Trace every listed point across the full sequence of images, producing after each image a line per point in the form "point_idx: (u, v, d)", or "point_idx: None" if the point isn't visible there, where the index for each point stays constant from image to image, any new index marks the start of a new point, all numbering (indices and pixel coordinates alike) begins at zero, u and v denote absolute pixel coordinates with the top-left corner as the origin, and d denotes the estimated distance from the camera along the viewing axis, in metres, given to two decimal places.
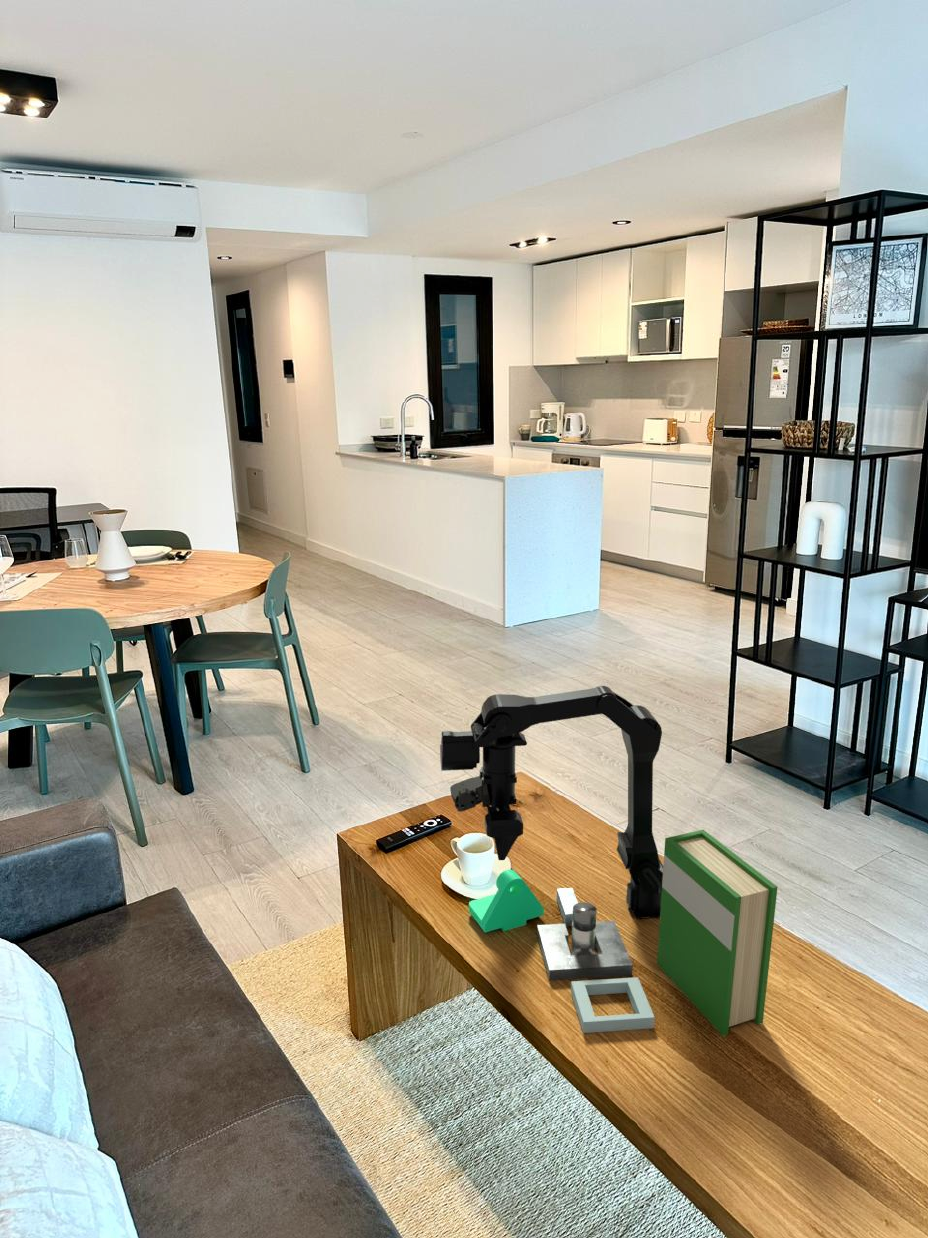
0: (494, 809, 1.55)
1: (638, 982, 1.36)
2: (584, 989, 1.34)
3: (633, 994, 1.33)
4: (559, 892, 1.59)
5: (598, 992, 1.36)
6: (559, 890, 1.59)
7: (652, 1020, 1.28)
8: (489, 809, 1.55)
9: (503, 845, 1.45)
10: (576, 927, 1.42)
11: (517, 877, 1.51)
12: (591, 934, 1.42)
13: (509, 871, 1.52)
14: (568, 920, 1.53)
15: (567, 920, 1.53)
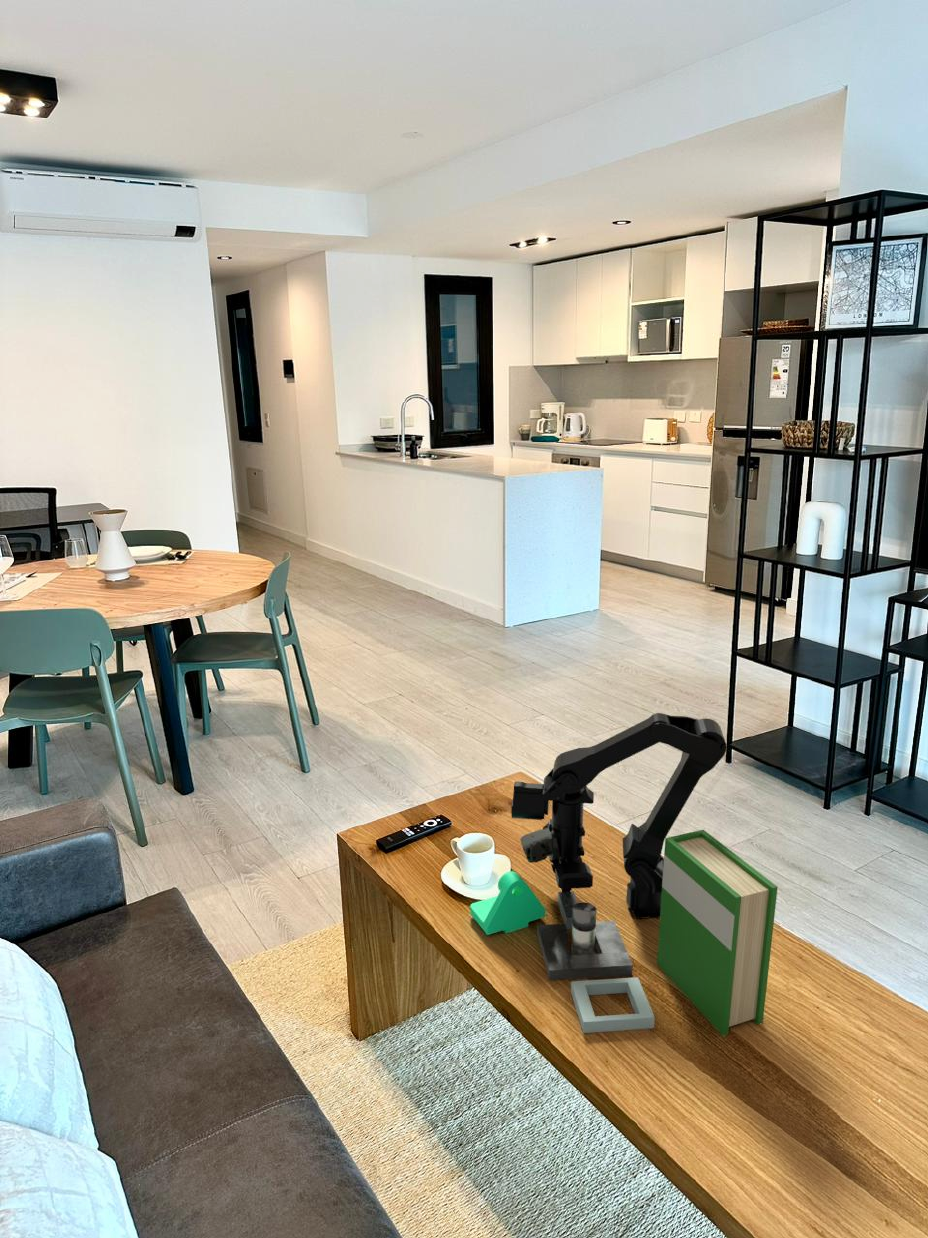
0: None
1: (638, 982, 1.36)
2: (584, 989, 1.34)
3: (633, 994, 1.33)
4: (560, 895, 1.58)
5: (598, 992, 1.36)
6: (560, 893, 1.58)
7: (652, 1020, 1.28)
8: None
9: None
10: (576, 927, 1.42)
11: (519, 879, 1.50)
12: (591, 934, 1.42)
13: (511, 873, 1.52)
14: (570, 924, 1.52)
15: (568, 923, 1.52)
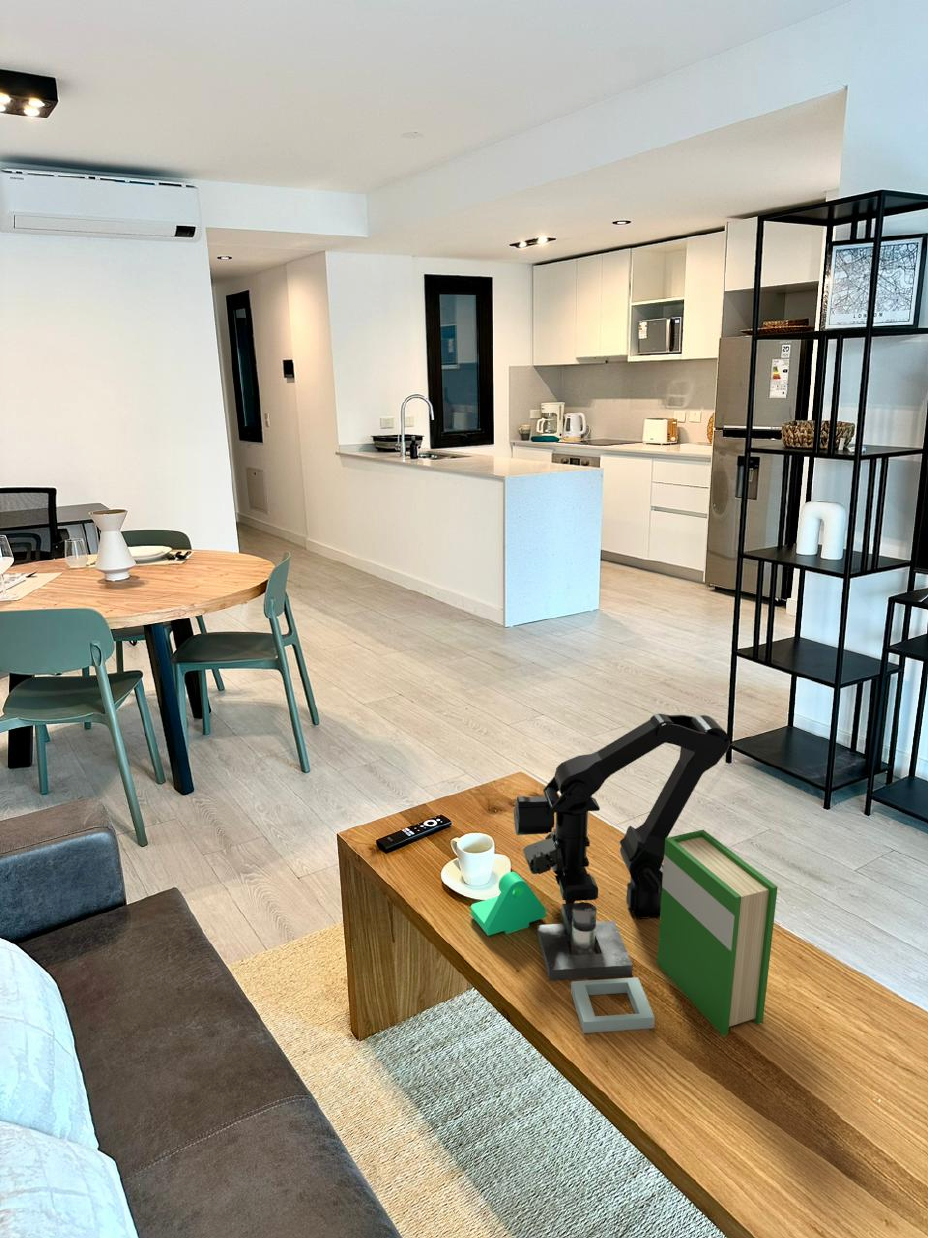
0: None
1: (638, 982, 1.36)
2: (584, 989, 1.34)
3: (633, 994, 1.33)
4: (564, 907, 1.54)
5: (598, 992, 1.36)
6: (564, 905, 1.55)
7: (652, 1020, 1.28)
8: None
9: None
10: (576, 927, 1.42)
11: (519, 879, 1.50)
12: (591, 934, 1.42)
13: (512, 873, 1.52)
14: None
15: None
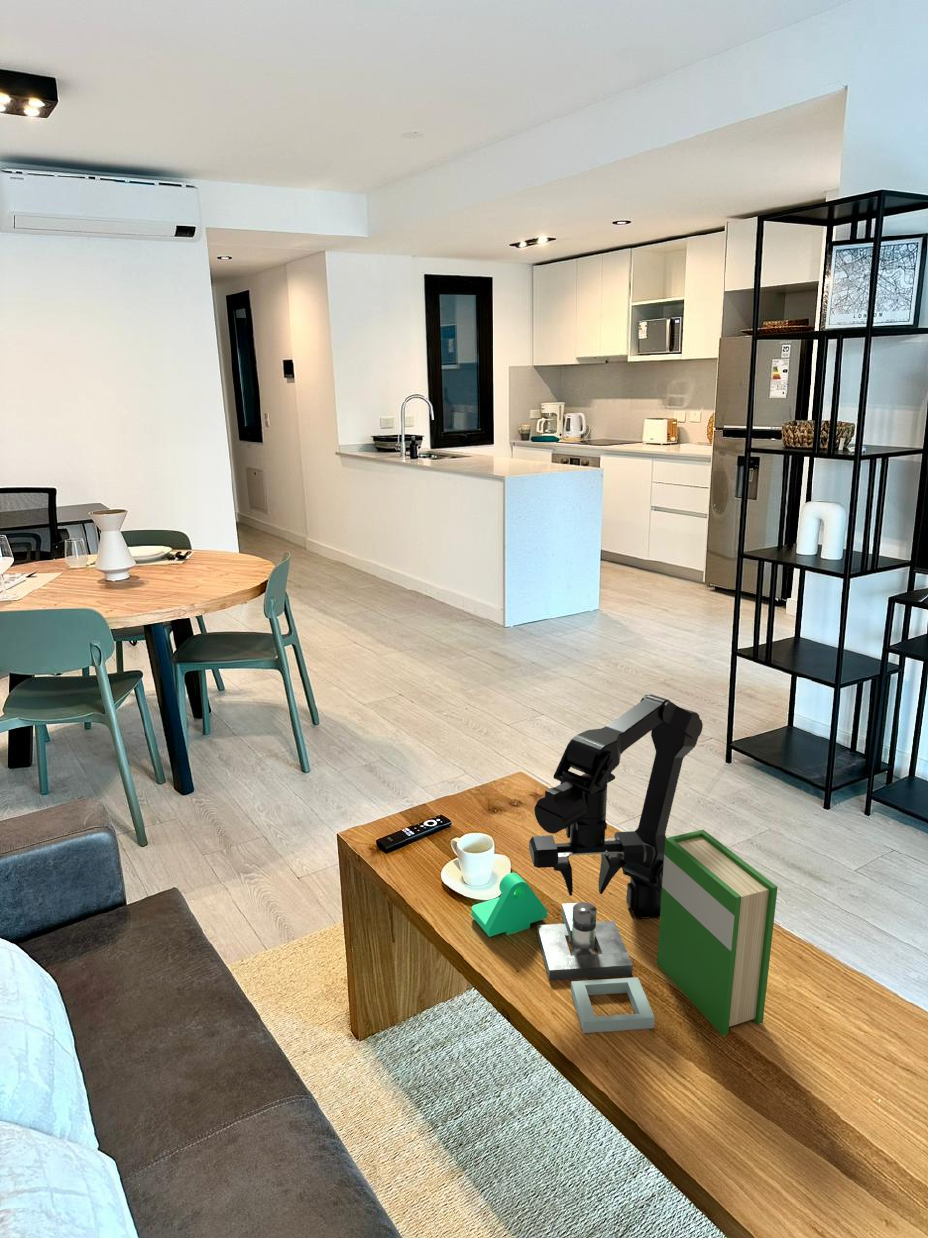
0: (602, 867, 1.41)
1: (638, 982, 1.36)
2: (584, 989, 1.34)
3: (633, 994, 1.33)
4: (564, 907, 1.54)
5: (598, 992, 1.36)
6: (564, 905, 1.55)
7: (652, 1020, 1.28)
8: (601, 864, 1.42)
9: None
10: (576, 927, 1.42)
11: (520, 880, 1.50)
12: (591, 934, 1.42)
13: (512, 874, 1.51)
14: None
15: None
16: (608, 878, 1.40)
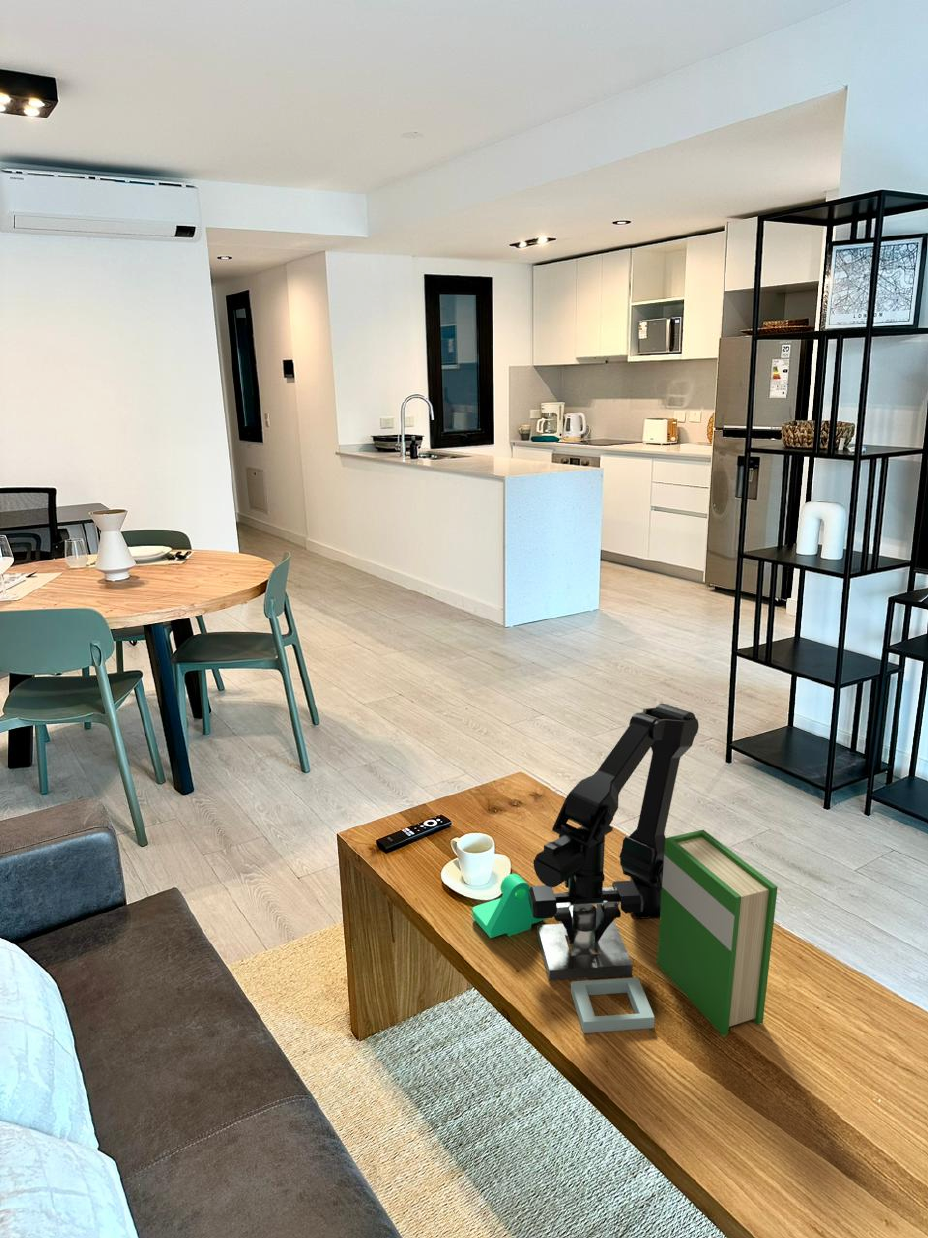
0: (598, 916, 1.44)
1: (638, 982, 1.36)
2: (584, 989, 1.34)
3: (633, 994, 1.33)
4: None
5: (598, 992, 1.36)
6: None
7: (652, 1020, 1.28)
8: (596, 913, 1.45)
9: None
10: (576, 927, 1.42)
11: (522, 881, 1.49)
12: (591, 934, 1.42)
13: (513, 875, 1.51)
14: None
15: None
16: (603, 928, 1.42)
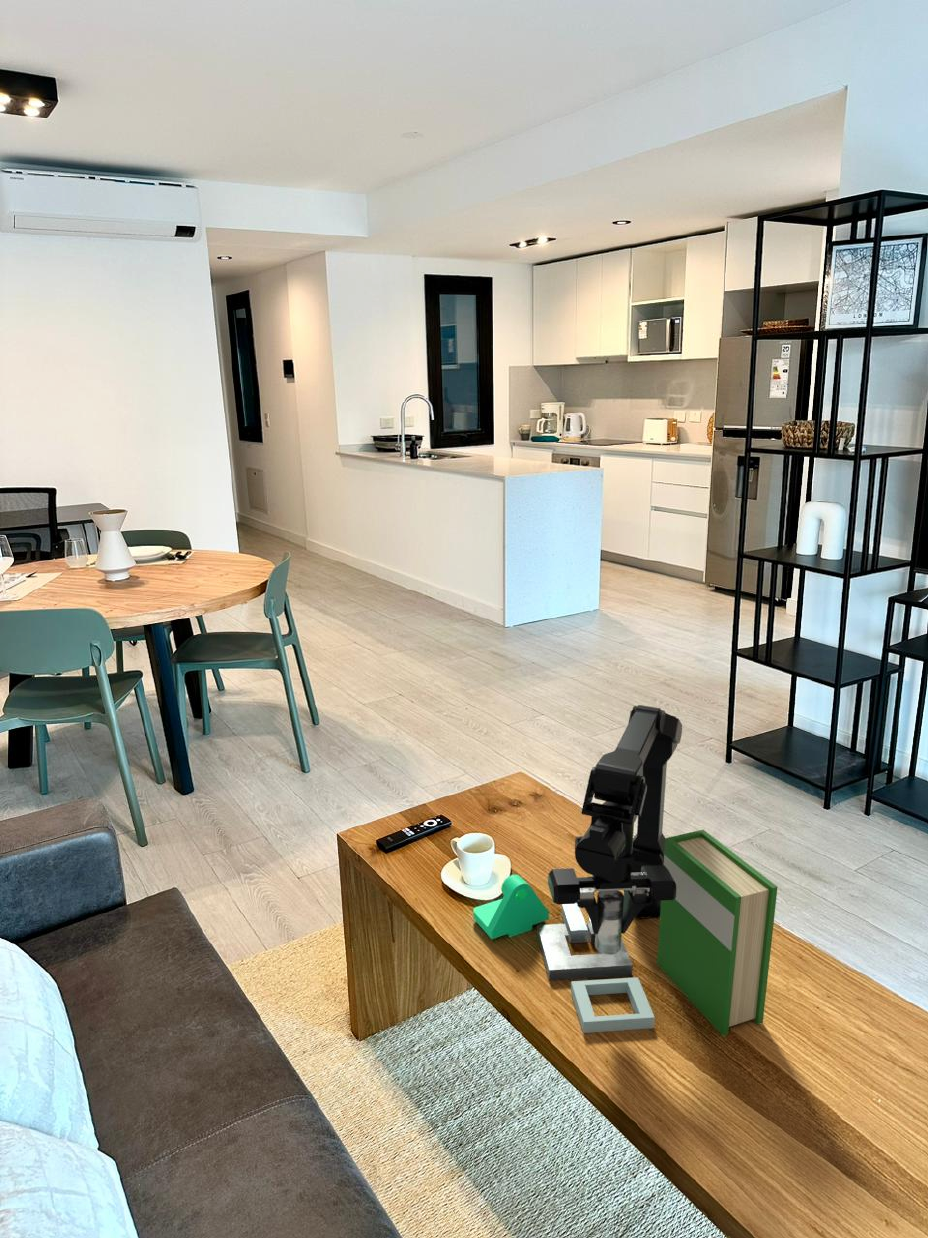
0: (625, 904, 1.30)
1: (638, 982, 1.36)
2: (584, 989, 1.34)
3: (633, 994, 1.33)
4: (564, 907, 1.54)
5: (598, 992, 1.36)
6: (564, 905, 1.55)
7: (652, 1020, 1.28)
8: None
9: None
10: (601, 915, 1.28)
11: (523, 882, 1.49)
12: (617, 923, 1.28)
13: (514, 876, 1.51)
14: (574, 937, 1.48)
15: (573, 936, 1.48)
16: (631, 917, 1.28)
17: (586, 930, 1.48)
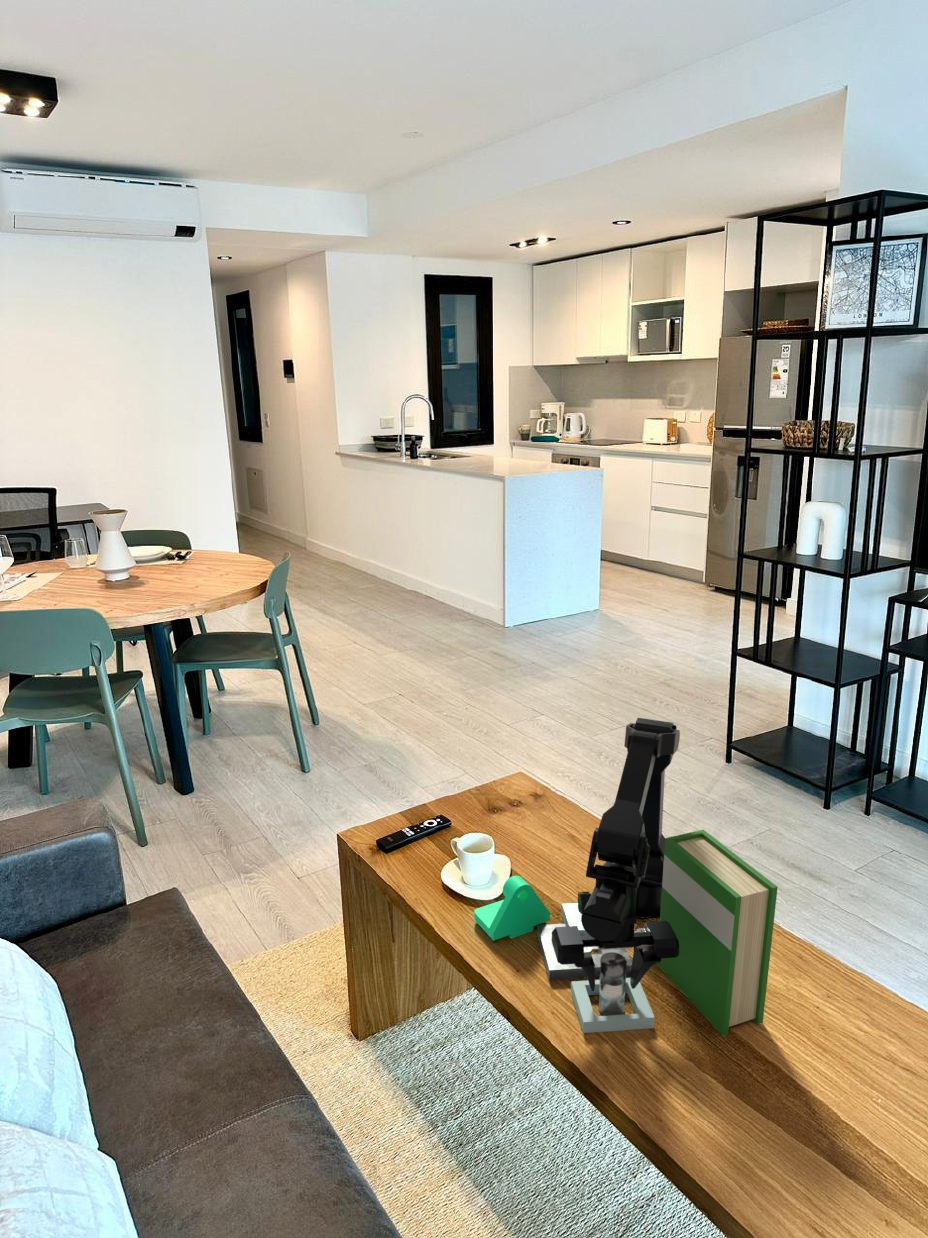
0: (635, 960, 1.31)
1: None
2: (584, 989, 1.34)
3: (633, 994, 1.33)
4: (564, 907, 1.54)
5: (598, 992, 1.36)
6: (564, 905, 1.55)
7: (652, 1020, 1.28)
8: (633, 956, 1.31)
9: None
10: (604, 981, 1.30)
11: (524, 883, 1.49)
12: (620, 988, 1.29)
13: (516, 877, 1.50)
14: None
15: None
16: (641, 973, 1.29)
17: None
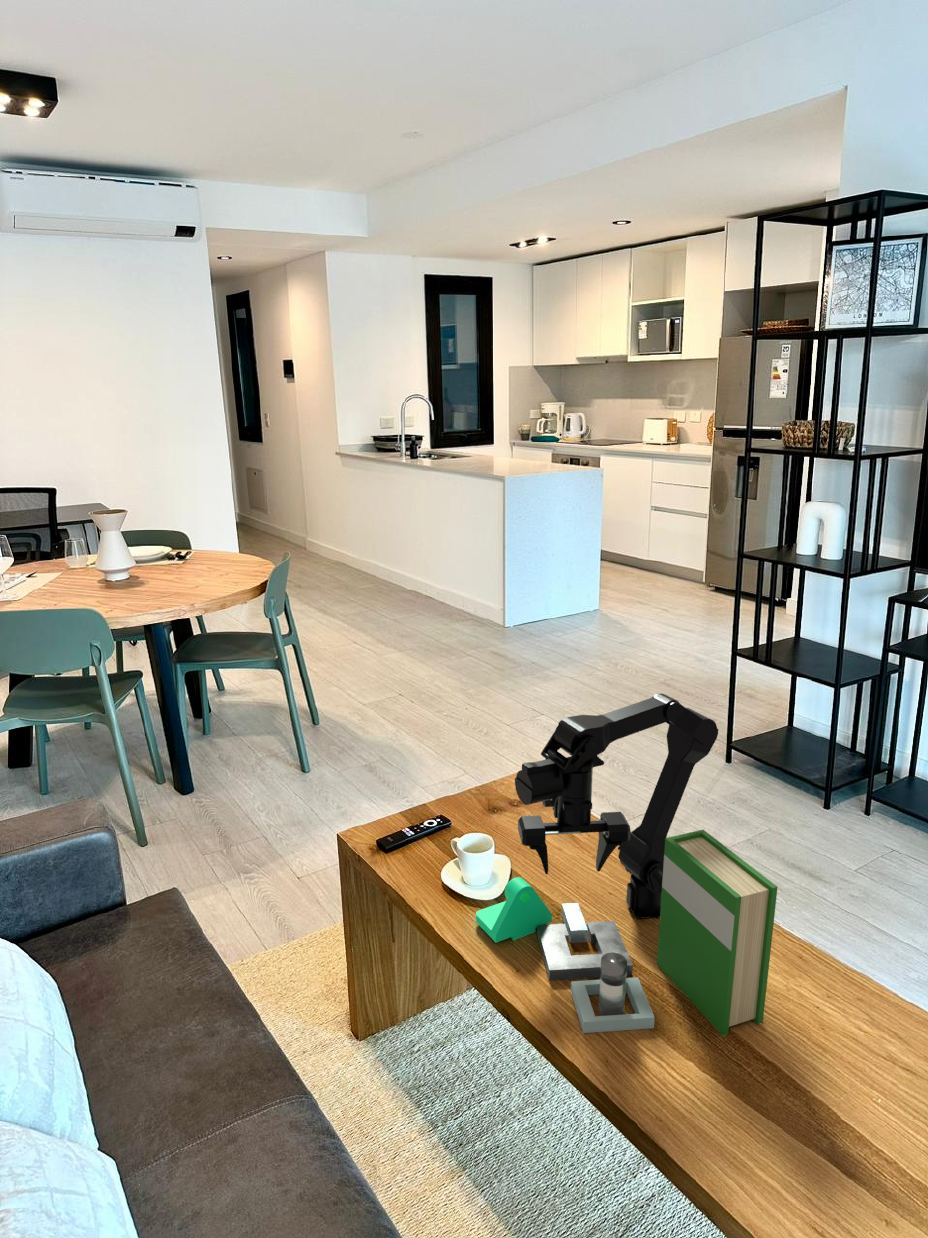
0: (600, 846, 1.47)
1: (638, 982, 1.36)
2: (584, 989, 1.34)
3: (633, 994, 1.33)
4: (564, 907, 1.54)
5: (598, 992, 1.36)
6: (564, 905, 1.55)
7: (652, 1020, 1.28)
8: (598, 843, 1.48)
9: None
10: (605, 981, 1.30)
11: (526, 884, 1.48)
12: (621, 988, 1.29)
13: (517, 879, 1.50)
14: (574, 937, 1.48)
15: (573, 936, 1.48)
16: (605, 856, 1.45)
17: (586, 930, 1.48)
